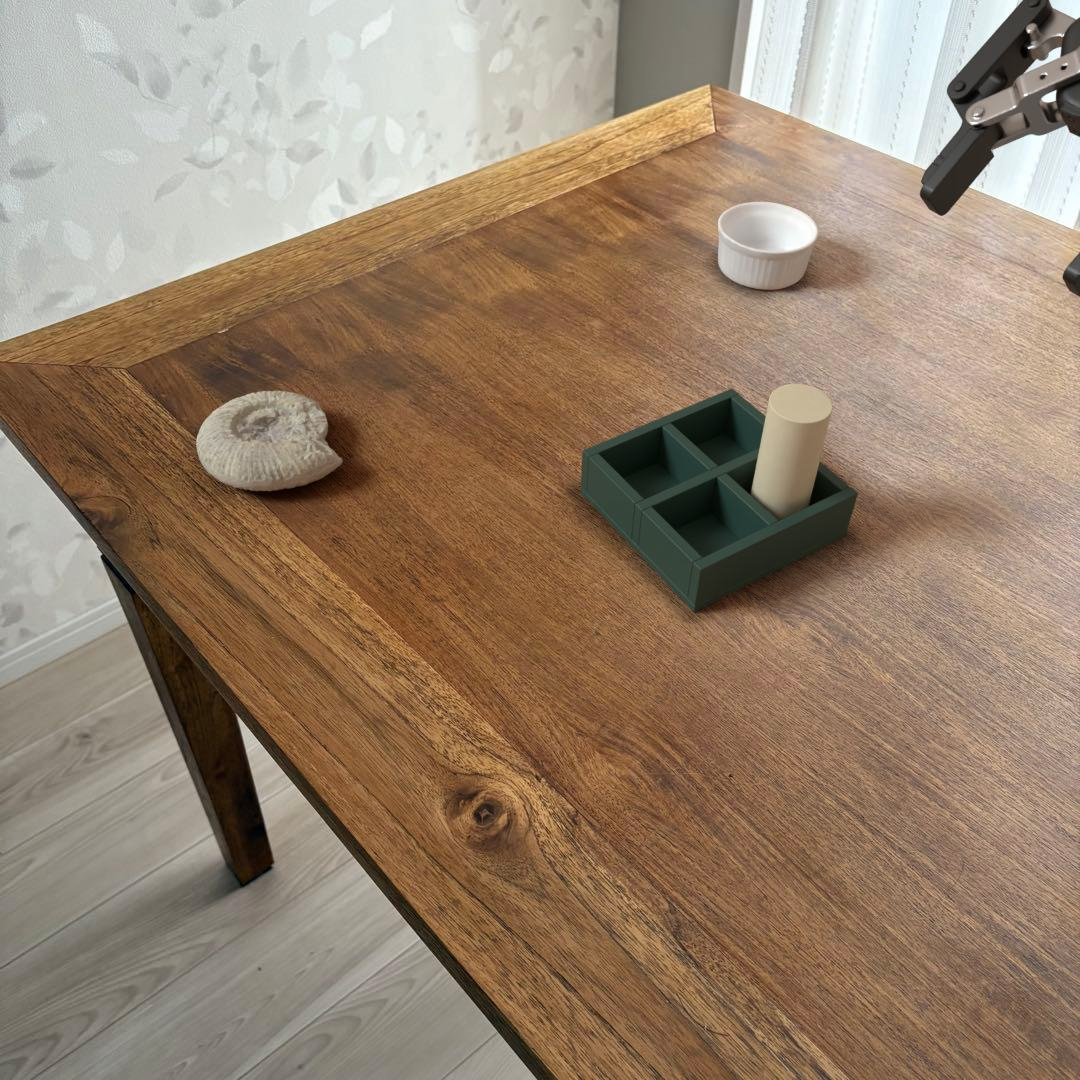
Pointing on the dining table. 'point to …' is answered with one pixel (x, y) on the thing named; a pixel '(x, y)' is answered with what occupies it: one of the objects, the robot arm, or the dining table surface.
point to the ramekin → (765, 244)
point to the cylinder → (791, 448)
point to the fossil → (267, 442)
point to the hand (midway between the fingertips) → (997, 245)
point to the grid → (706, 500)
